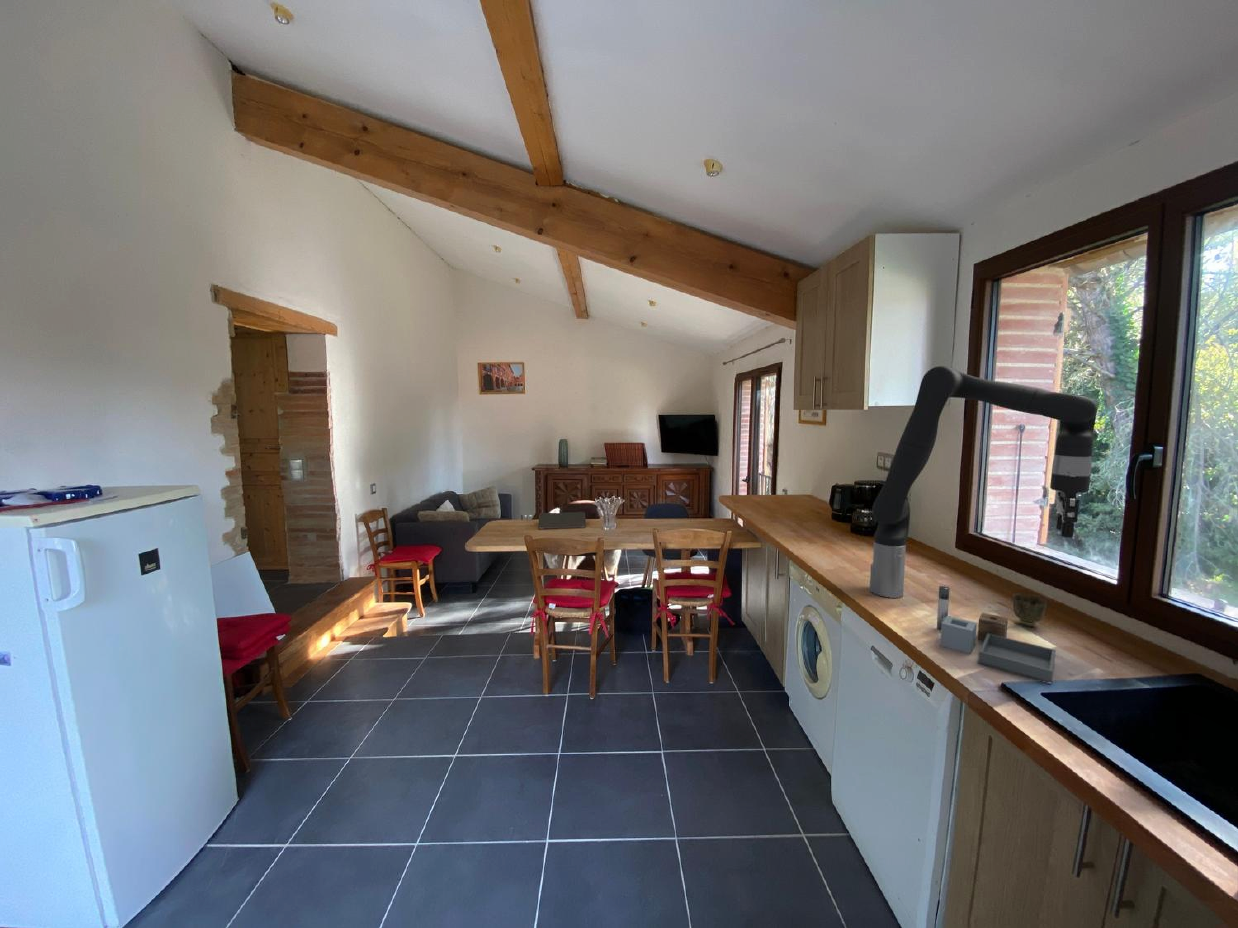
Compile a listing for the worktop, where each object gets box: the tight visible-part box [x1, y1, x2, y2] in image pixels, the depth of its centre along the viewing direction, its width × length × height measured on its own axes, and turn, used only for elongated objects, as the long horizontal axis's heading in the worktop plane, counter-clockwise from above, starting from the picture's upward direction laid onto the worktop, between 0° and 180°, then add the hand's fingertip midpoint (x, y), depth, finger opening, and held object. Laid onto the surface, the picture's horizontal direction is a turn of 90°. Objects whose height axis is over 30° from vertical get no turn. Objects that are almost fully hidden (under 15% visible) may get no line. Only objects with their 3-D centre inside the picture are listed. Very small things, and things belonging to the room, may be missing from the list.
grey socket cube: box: [939, 615, 978, 655], centre depth 126 cm, size 6×6×6 cm
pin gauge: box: [936, 585, 951, 632], centre depth 135 cm, size 2×2×12 cm
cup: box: [1012, 592, 1048, 628], centre depth 137 cm, size 8×7×8 cm
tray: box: [978, 633, 1057, 683], centre depth 117 cm, size 13×13×3 cm
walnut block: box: [976, 612, 1009, 643], centre depth 129 cm, size 6×6×6 cm
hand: (1064, 533), depth 129 cm, fingers open, 8 cm apart
